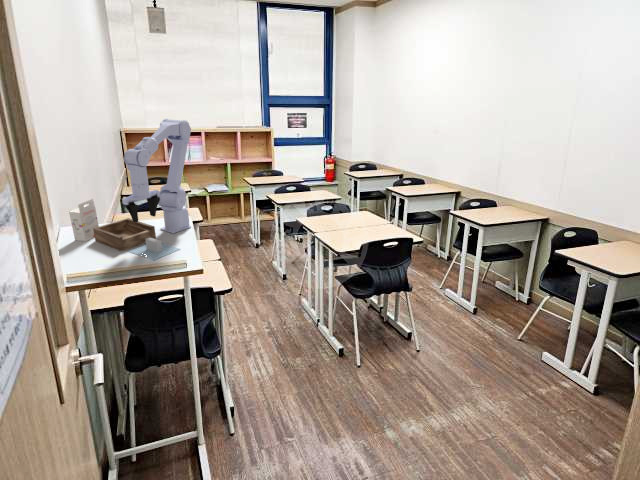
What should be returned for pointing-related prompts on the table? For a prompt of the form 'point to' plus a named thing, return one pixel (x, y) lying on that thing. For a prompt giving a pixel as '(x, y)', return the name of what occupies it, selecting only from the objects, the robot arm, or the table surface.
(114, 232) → the walnut box
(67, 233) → the table surface
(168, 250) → the cover plate
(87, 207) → the ink cartridge box
